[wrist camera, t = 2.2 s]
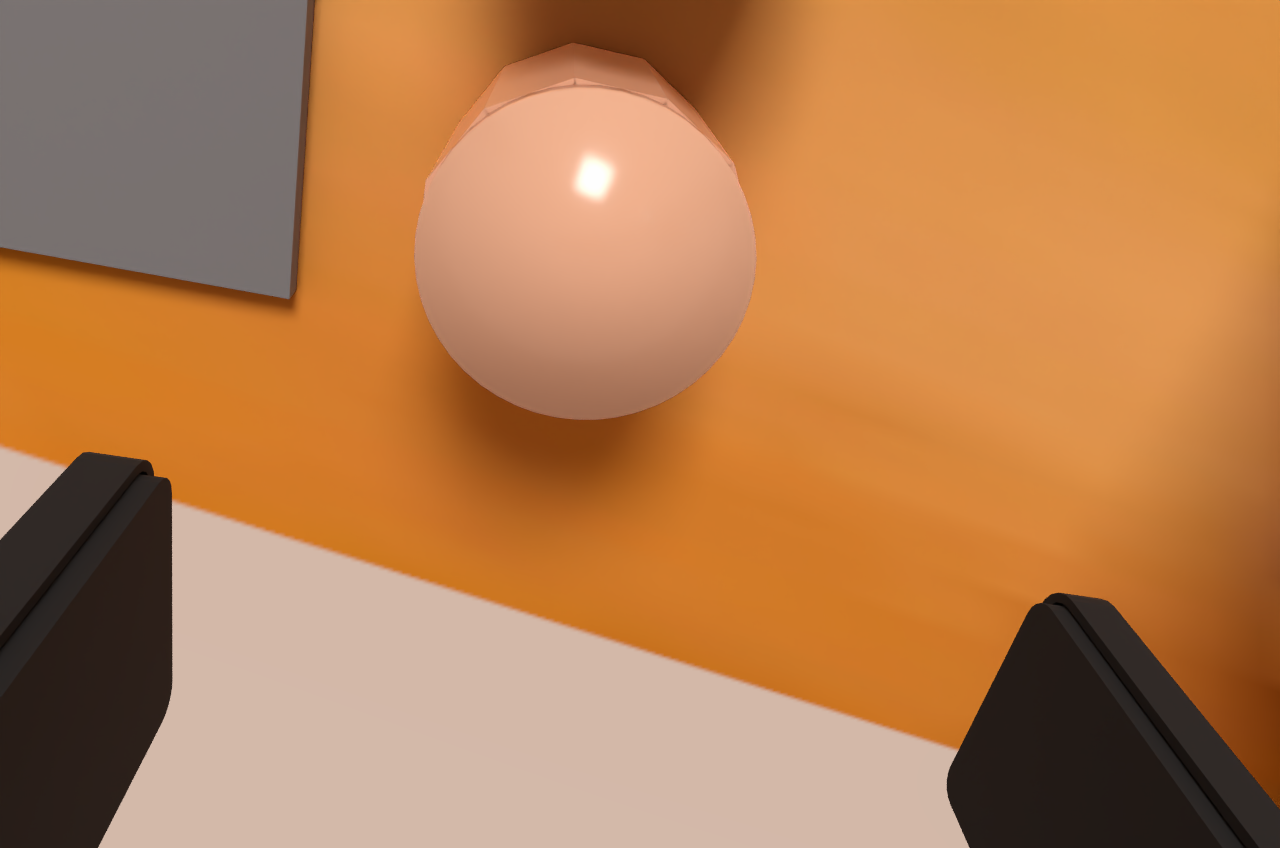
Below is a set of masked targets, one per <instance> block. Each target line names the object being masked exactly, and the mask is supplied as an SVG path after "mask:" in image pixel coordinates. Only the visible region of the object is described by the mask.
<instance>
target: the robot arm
mask: <svg viewBox="0 0 1280 848" xmlns="http://www.w3.org/2000/svg"><path fill="white" fill-rule="evenodd" d="M171 690H172V490H171V484H170V481H169V480H168V479H167V478H163V477H156V476H154V471H153V468H152V465H151V463H150V462H148V461H147V460H141V459H134V458H127V457H120V456H113V455H106V454H100V453H93V452H84V453H82V454H81V455H80V456H78V457H77V458H76V459H75V460H74V461H73V462H72V463H71V464H70V466H69V467H68V468H67V469H66V470H65V471H64V472H63V473H62V474H61V475H60V476H59V477H58V478H57V480H56V481H55V482H54V483H53V484H52V485H51V486H50V487H49V488H48V489H47V490H46V491H45V492H44V494H43V495H42V496H41V497H40V498H39V499H38V500H37V501H36V502H35V503H34V504H33V506H31V507H30V509H29V510H28V511H27V512H26V513H25V514H24V515H23V516H22V517H21V518H20V519H19V520H18V521H17V522H16V524H15V525H14V526H13V527H12V528H11V529H10V530H9V531H8V532H7V534H5V535H4V536H3V538H2V539H1V540H0V848H98V847H99V844H100V843H101V841H102V839H103V837H104V835H105V833H106V831H107V829H108V827H109V825H110V823H111V821H112V819H113V817H114V815H115V813H116V811H117V809H118V807H119V805H120V803H121V802H122V799H123V798H124V796H125V794H126V792H127V790H128V788H129V786H130V784H131V782H132V780H133V778H134V776H135V774H136V772H137V770H138V768H139V766H140V764H141V762H142V760H143V758H144V757H145V755H146V752H147V751H148V749H149V747H150V745H151V743H152V741H153V739H154V737H155V735H156V733H157V731H158V729H159V727H160V725H161V723H162V721H163V719H164V716H165V714H166V711H167V708H168V705H169V701H170V696H171ZM947 793H948V798H949V801H950V804H951V806H952V809H953V811H954V813H955V815H956V818H957V820H958V822H959V825H960V827H961V829H962V832H963V834H964V836H965V838H966V840H967V843H968V845H969V847H970V848H1280V809H1279V808H1278V807H1277V806H1276V805H1275V803H1274V802H1273V801H1272V800H1271V798H1270V797H1269V796H1268V795H1267V794H1266V792H1265V791H1264V790H1263V789H1262V787H1261V786H1260V785H1259V784H1258V782H1257V781H1256V780H1255V779H1254V778H1253V776H1252V775H1251V774H1250V773H1249V771H1248V770H1247V769H1246V768H1245V766H1244V765H1243V764H1242V763H1241V762H1240V760H1239V759H1238V758H1237V757H1236V755H1235V754H1234V753H1233V752H1232V751H1231V749H1230V748H1229V747H1228V746H1227V744H1226V743H1225V742H1224V741H1223V739H1222V738H1221V737H1220V736H1219V735H1218V733H1217V732H1216V731H1215V730H1214V728H1213V727H1212V726H1211V725H1210V724H1209V722H1208V721H1207V720H1206V719H1205V717H1204V716H1203V715H1202V714H1201V712H1200V711H1199V710H1198V709H1197V708H1196V706H1195V705H1194V704H1193V703H1192V701H1191V700H1190V699H1189V698H1188V697H1187V695H1186V694H1185V693H1184V692H1183V690H1182V689H1181V688H1180V687H1179V685H1178V684H1177V683H1176V682H1175V681H1174V679H1173V678H1172V677H1171V676H1170V674H1169V673H1168V672H1167V671H1166V670H1165V668H1164V667H1163V666H1162V665H1161V663H1160V662H1159V661H1158V660H1157V658H1156V657H1155V656H1154V655H1153V654H1152V652H1151V651H1150V650H1149V649H1148V647H1147V646H1146V645H1145V644H1144V643H1143V641H1142V640H1141V639H1140V638H1139V636H1138V635H1137V634H1136V633H1135V631H1134V630H1133V629H1132V628H1131V627H1130V625H1129V624H1128V623H1127V622H1126V620H1125V619H1124V618H1123V617H1122V615H1121V614H1120V613H1119V612H1118V611H1117V609H1116V608H1115V607H1114V606H1113V605H1112V604H1111V603H1109V602H1108V601H1106V600H1103V599H1098V598H1092V597H1085V596H1078V595H1071V594H1064V593H1055V594H1051V595H1050V596H1049V597H1047V598H1046V599H1045V600H1044V601H1043V603H1039V604H1036V605H1034V606H1033V607H1032V608H1031V609H1030V610H1029V612H1028V613H1027V615H1026V617H1025V619H1024V621H1023V623H1022V625H1021V627H1020V629H1019V631H1018V633H1017V635H1016V637H1015V639H1014V641H1013V643H1012V645H1011V647H1010V649H1009V651H1008V653H1007V655H1006V657H1005V659H1004V661H1003V663H1002V665H1001V667H1000V669H999V671H998V673H997V675H996V677H995V679H994V681H993V683H992V685H991V687H990V689H989V691H988V693H987V695H986V697H985V699H984V701H983V703H982V705H981V707H980V709H979V711H978V713H977V715H976V717H975V719H974V721H973V723H972V725H971V727H970V729H969V731H968V733H967V735H966V737H965V739H964V741H963V743H962V745H961V747H960V749H959V751H958V753H957V755H956V757H955V759H954V761H953V763H952V765H951V766H950V769H949V772H948V777H947Z"/></svg>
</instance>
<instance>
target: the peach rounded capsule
mask: <svg viewBox="0 0 1280 848" xmlns="http://www.w3.org/2000/svg"><path fill="white" fill-rule="evenodd" d="M414 260H415V271H416V280H417V285H418V289H419V294H420V298H421V301H422V304H423V307H424V309H425V312H426V315H427V317H428V320H429V322H430V324H431V326H432V328H433V330H434V331H435V333H436V335H437V337H438V339H439V340H440V342H441V343H442V345H443V346H444V347H445V349H446V350H447V352H448V353H449V354H450V356H451V357H452V358H453V359H454V360H455V361H456V362H457V364H458V365H459V366H460V367H461V368H462V369H463V370H464V371H465V372H466V373H467V374H468V375H469V376H471V377H472V378H473V379H474V380H475V381H477V382H478V383H479V384H480V385H481V386H483V387H484V388H486V389H487V390H489V391H491V392H492V393H494V394H495V395H497V396H498V397H500V398H502V399H504V400H506V401H508V402H510V403H512V404H514V405H516V406H519V407H521V408H524V409H527V410H530V411H533V412H535V413H539V414H544V415H548V416H552V417H557V418H566V419H575V420H599V419H607V418H615V417H620V416H625V415H629V414H633V413H637V412H640V411H643V410H645V409H648V408H651V407H653V406H656V405H658V404H660V403H662V402H664V401H666V400H668V399H670V398H672V397H674V396H676V395H677V394H679V393H680V392H682V391H683V390H684V389H686V388H687V387H689V386H690V385H692V384H693V383H694V382H695V381H697V380H698V379H699V378H700V377H701V376H702V375H703V374H705V373H706V372H707V371H708V370H709V369H710V368H711V367H712V365H713V364H714V363H715V362H716V361H717V360H718V359H719V358H720V357H721V355H722V354H723V353H724V351H725V350H726V348H727V347H728V345H729V344H730V342H731V341H732V340H733V338H734V336H735V334H736V332H737V330H738V328H739V326H740V325H741V323H742V321H743V318H744V316H745V313H746V310H747V307H748V305H749V302H750V298H751V294H752V289H753V285H754V280H755V269H756V241H755V233H754V227H753V222H752V217H751V213H750V210H749V207H748V204H747V201H746V198H745V195H744V193H743V191H742V189H741V187H740V184H739V180H738V176H737V173H736V169H735V165H734V162H733V161H732V160H731V158H730V157H729V155H728V154H727V153H726V151H725V150H724V148H723V147H722V146H721V144H720V143H719V141H718V140H717V139H716V137H715V136H714V134H713V133H712V132H711V130H710V129H709V127H708V126H707V125H706V123H705V122H704V120H703V119H702V118H701V116H700V115H699V114H698V112H697V111H696V109H695V108H694V107H693V106H692V105H691V104H690V103H688V102H687V101H686V100H685V99H684V98H683V97H682V96H681V95H680V94H679V93H678V92H677V91H676V90H675V89H674V88H673V87H672V86H671V85H670V84H669V83H668V82H667V81H666V80H665V79H664V78H663V77H662V76H661V75H660V74H659V73H658V72H657V71H656V70H655V69H654V68H653V67H652V66H651V65H650V64H649V63H648V62H647V61H646V60H645V59H642V58H638V57H633V56H629V55H625V54H620V53H616V52H612V51H608V50H603V49H599V48H595V47H590V46H586V45H582V44H577V43H570V44H567V45H564V46H562V47H559V48H556V49H553V50H550V51H547V52H544V53H541V54H538V55H535V56H532V57H530V58H527V59H524V60H521V61H518V62H515V63H512V64H509V65H506V66H504V67H503V69H502V70H501V71H500V72H499V74H498V75H497V76H496V77H495V78H494V80H493V81H492V82H491V83H490V85H489V86H488V87H487V88H486V90H485V91H484V92H483V93H482V95H481V96H480V97H479V98H478V100H477V101H476V102H475V103H474V105H473V106H472V107H471V108H470V110H469V111H468V112H467V113H466V114H465V116H464V117H463V118H462V119H461V121H460V122H459V124H458V125H457V127H456V129H455V131H454V132H453V134H452V136H451V138H450V139H449V141H448V143H447V144H446V146H445V148H444V150H443V151H442V153H441V155H440V157H439V158H438V160H437V162H436V164H435V165H434V167H433V169H432V171H431V172H430V174H429V176H428V178H427V179H426V184H425V192H424V200H423V205H422V208H421V211H420V214H419V219H418V224H417V229H416V235H415V253H414Z"/></svg>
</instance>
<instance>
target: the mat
mask: <svg viewBox="0 0 1280 848" xmlns="http://www.w3.org/2000/svg"><path fill="white" fill-rule="evenodd" d="M314 2H315V0H0V247H3V248H8V249H14V250H19V251H25V252H30V253H36V254H41V255H47V256H53V257H58V258H64V259H69V260H75V261H80V262H86V263H91V264H97V265H102V266H108V267H114V268H119V269H125V270H130V271H136V272H141V273H147V274H152V275H158V276H164V277H169V278H175V279H180V280H186V281H191V282H197V283H202V284H208V285H214V286H219V287H225V288H230V289H236V290H241V291H247V292H252V293H258V294H264V295H269V296H275V297H280V298H286V299H290V298H291V296H292V295H293V294H294V292H295V291H296V284H297V268H298V252H299V237H300V221H301V206H302V190H303V174H304V159H305V143H306V127H307V112H308V96H309V80H310V65H311V49H312V33H313V18H314Z"/></svg>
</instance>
